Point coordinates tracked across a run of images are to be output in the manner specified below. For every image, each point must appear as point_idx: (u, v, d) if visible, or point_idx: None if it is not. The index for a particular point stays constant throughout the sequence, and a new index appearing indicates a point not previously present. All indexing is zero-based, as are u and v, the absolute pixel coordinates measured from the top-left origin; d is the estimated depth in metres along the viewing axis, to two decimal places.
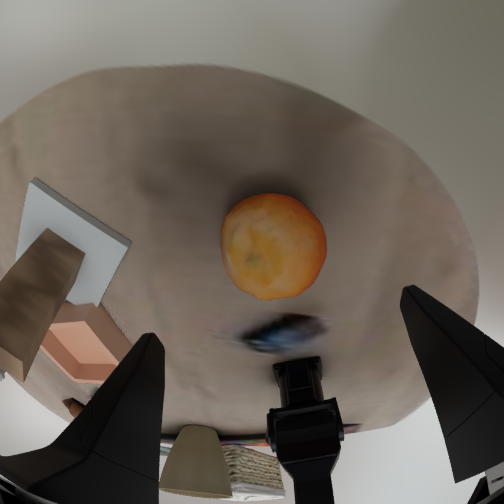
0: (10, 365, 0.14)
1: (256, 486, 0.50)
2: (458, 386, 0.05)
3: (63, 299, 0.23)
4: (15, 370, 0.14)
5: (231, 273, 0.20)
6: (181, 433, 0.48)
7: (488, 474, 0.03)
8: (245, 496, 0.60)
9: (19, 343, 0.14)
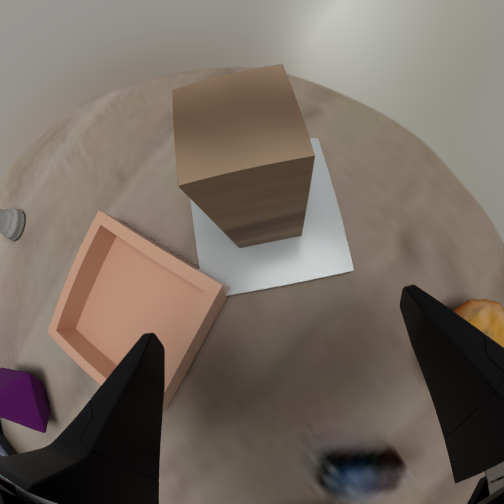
0: (241, 141, 0.10)
1: None
2: (458, 386, 0.05)
3: (245, 236, 0.19)
4: (227, 153, 0.10)
5: None
6: None
7: (488, 474, 0.03)
8: None
9: None
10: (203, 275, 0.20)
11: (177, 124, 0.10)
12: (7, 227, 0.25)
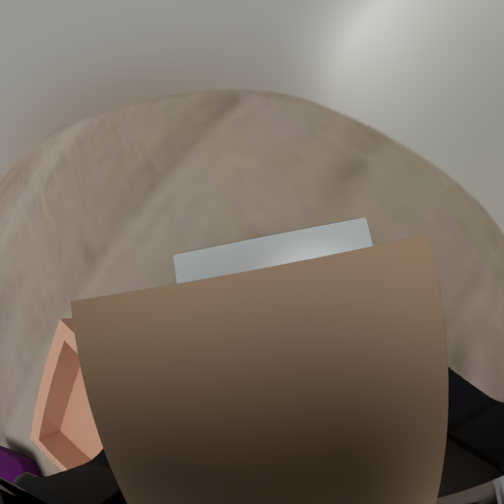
0: None
1: None
2: None
3: None
4: None
5: None
6: None
7: None
8: None
9: None
10: None
11: (107, 439, 0.03)
12: None
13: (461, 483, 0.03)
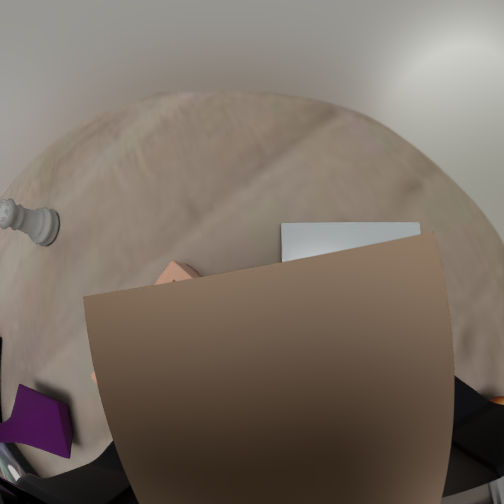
0: None
1: None
2: None
3: None
4: None
5: None
6: None
7: None
8: None
9: None
10: None
11: (119, 436, 0.03)
12: (37, 233, 0.24)
13: (457, 485, 0.03)
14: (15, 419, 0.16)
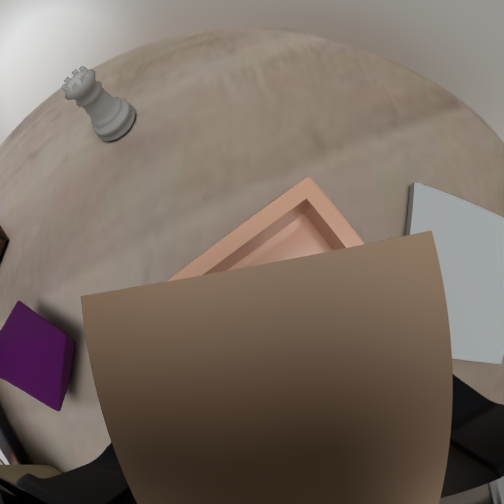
0: None
1: None
2: None
3: None
4: None
5: None
6: (51, 476, 0.16)
7: None
8: None
9: None
10: None
11: (116, 435, 0.03)
12: (106, 121, 0.21)
13: (457, 485, 0.03)
14: (1, 344, 0.13)
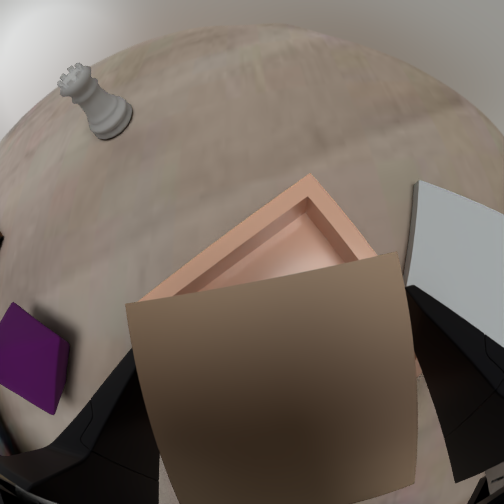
0: (295, 476, 0.04)
1: None
2: (458, 386, 0.05)
3: None
4: (265, 492, 0.04)
5: None
6: None
7: (488, 474, 0.03)
8: None
9: None
10: None
11: (154, 414, 0.04)
12: (102, 118, 0.20)
13: None
14: None
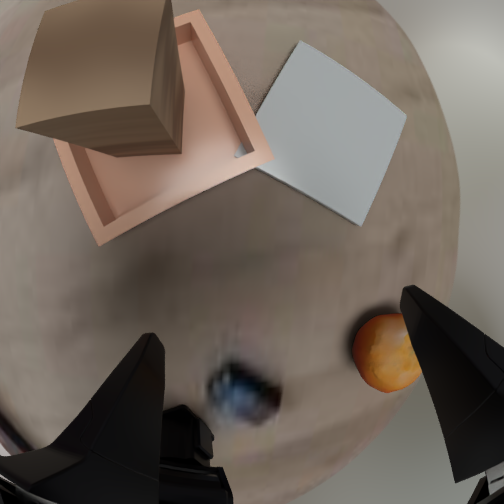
0: (80, 79, 0.06)
1: None
2: (458, 386, 0.05)
3: (116, 151, 0.15)
4: (62, 93, 0.06)
5: (391, 340, 0.22)
6: None
7: (488, 474, 0.03)
8: None
9: (157, 91, 0.08)
10: (264, 138, 0.17)
11: (32, 54, 0.05)
12: None
13: None
14: None
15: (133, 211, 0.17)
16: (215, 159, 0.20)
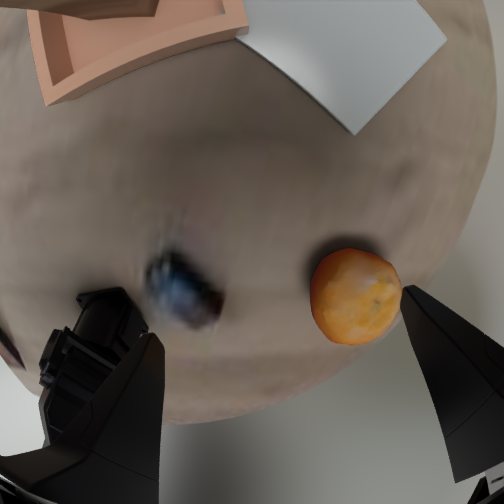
0: None
1: None
2: (458, 386, 0.05)
3: (77, 12, 0.09)
4: None
5: (353, 282, 0.19)
6: None
7: (488, 474, 0.03)
8: None
9: None
10: (240, 2, 0.10)
11: None
12: None
13: None
14: None
15: (81, 70, 0.11)
16: None
